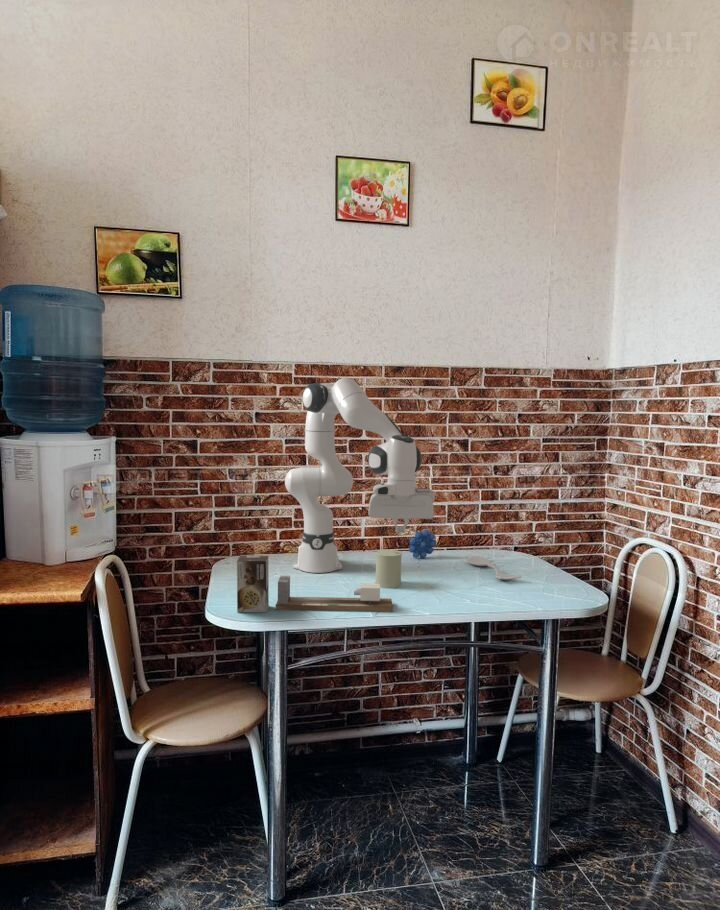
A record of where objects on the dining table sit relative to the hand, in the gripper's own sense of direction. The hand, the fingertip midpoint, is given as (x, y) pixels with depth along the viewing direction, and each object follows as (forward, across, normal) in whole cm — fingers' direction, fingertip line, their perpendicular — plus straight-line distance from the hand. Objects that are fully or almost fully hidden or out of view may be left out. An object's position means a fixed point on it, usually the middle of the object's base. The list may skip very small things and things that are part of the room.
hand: (400, 532), depth 191 cm
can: (+24, +2, -24) cm, 34 cm away
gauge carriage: (+22, +10, +1) cm, 24 cm away
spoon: (+24, -38, -43) cm, 63 cm away
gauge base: (+24, +20, 0) cm, 31 cm away
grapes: (+24, -14, -62) cm, 68 cm away
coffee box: (+24, +45, +4) cm, 51 cm away
